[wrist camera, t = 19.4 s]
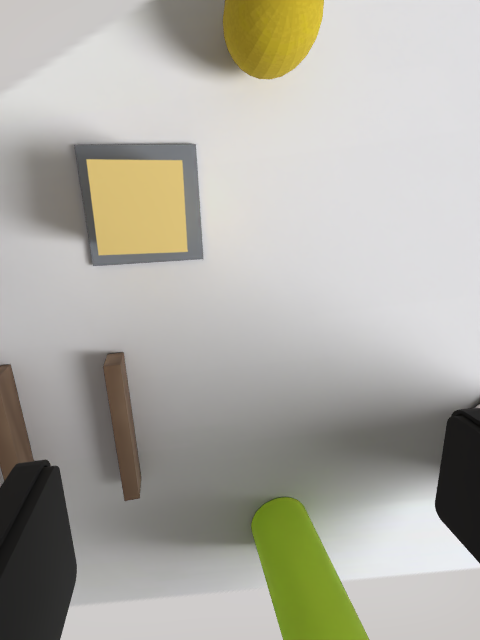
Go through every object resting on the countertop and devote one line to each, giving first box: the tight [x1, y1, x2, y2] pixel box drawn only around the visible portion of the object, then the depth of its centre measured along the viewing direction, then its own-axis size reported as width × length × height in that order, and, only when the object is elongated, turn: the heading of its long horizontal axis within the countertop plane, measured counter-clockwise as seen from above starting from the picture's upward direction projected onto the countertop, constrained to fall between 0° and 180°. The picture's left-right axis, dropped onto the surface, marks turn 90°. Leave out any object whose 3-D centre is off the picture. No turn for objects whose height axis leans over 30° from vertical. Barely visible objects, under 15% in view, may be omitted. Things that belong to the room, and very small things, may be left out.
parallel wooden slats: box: [0, 352, 141, 501], centre depth 29 cm, size 9×12×2 cm
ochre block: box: [86, 159, 188, 255], centre depth 23 cm, size 5×5×6 cm
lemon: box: [223, 0, 324, 79], centre depth 21 cm, size 6×6×8 cm
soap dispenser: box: [251, 497, 369, 640], centre depth 28 cm, size 6×7×20 cm
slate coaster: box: [74, 144, 203, 266], centre depth 26 cm, size 8×8×1 cm
